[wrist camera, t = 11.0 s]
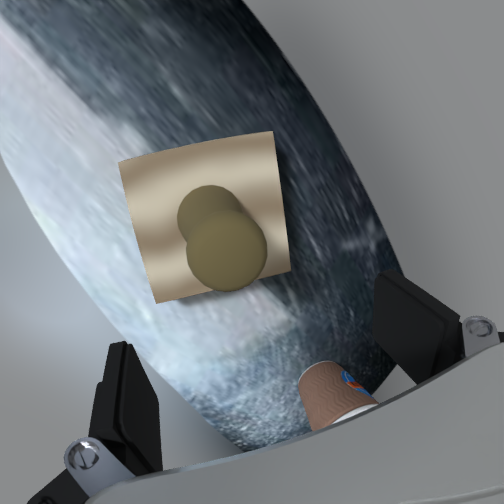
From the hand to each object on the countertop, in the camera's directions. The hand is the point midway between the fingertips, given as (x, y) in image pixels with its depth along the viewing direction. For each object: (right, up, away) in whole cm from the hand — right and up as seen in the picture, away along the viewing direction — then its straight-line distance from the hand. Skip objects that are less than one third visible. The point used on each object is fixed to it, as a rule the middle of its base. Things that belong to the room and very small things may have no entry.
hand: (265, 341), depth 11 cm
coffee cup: (+10, -16, +34) cm, 39 cm away
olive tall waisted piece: (-4, +6, +18) cm, 20 cm away
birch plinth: (-5, +7, +21) cm, 23 cm away
